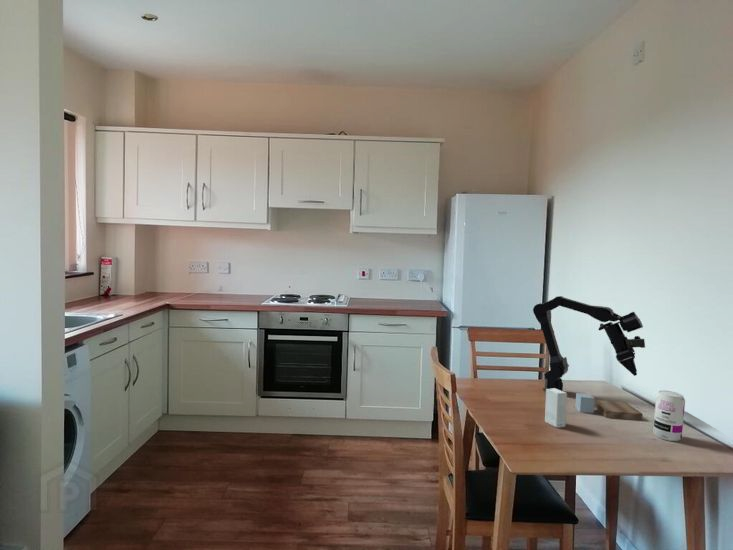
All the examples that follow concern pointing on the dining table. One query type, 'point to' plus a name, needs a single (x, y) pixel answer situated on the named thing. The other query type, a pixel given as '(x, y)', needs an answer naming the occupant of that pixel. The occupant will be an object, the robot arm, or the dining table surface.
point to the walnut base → (617, 410)
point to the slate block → (584, 403)
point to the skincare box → (556, 407)
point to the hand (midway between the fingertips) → (635, 373)
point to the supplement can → (669, 415)
